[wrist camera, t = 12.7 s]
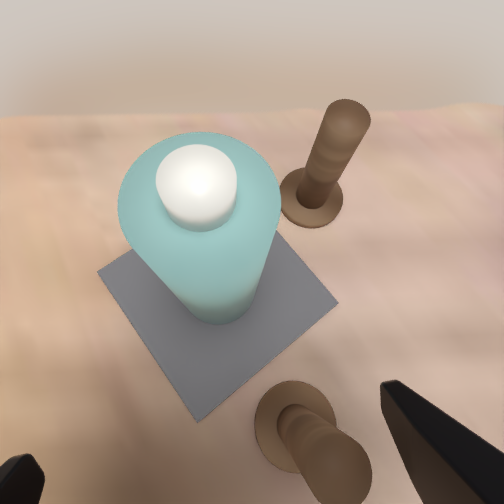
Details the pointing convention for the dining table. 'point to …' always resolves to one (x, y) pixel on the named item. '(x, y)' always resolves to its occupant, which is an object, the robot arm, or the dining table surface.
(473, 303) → the dining table surface
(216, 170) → the teal bottle
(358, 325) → the dining table surface
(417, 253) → the dining table surface
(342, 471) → the walnut gate posts
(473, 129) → the dining table surface
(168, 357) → the charcoal rubber mat
